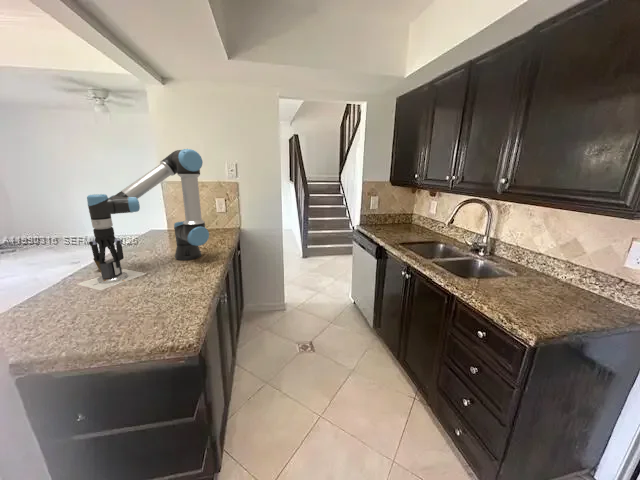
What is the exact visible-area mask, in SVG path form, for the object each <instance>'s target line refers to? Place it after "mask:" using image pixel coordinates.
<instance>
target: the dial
mask: <svg viewBox="0 0 640 480" xmlns="http://www.w3.org/2000/svg"><path fill="white" fill-rule="evenodd" d="M113 262H114V259H113V257H112V258H110V259H108V260H107V259H106V260H105V262H102V263H100V269H101V272H100V273H101V276H98V277H99V278H98V279H97V281H98V282H99V283H112V282H117V281H120V280H123V279H125V278H127V277H128V274H127V273H126V272H122V265H121V263H120V265H121V266H120V267H119V269H120V273H119V274H118V275H115V270H114V265H113Z"/></svg>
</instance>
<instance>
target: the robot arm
mask: <svg viewBox="0 0 640 480" xmlns="http://www.w3.org/2000/svg"><path fill="white" fill-rule="evenodd" d="M202 167H203V159H202V156H201V155H200V154H199V152H198V151H196V150H194V149H192V148H191V149H190V148H189V149H188V148H183V149H177V150H176V149H175V150H174V151H172V152H171V153H170V154H169V155H167V156H166V157H165V158H163V159H162V160H160V161H159V164H158V165H157V166H155V167H154V168H152V169H151V170H149V171H148V172H146V173H145V174H144V175H142V176H141V177H139V178H138V179H136V180H135V181H133V182H132V183H130V184H129V185H128V186H126V187H125V188H124V189H122V190H120V191H119V192H118V193H116V194H115V195H111V196H109V197H108V195H107V194H105V193H103V194H102V193H100V194H98V193H97V194H95V193H94V194H88V195H87V196H86V199H87V200H86V201H87V207H88V212H89V216H90V220H91V225H92V228H93V229H92V232H93V236H94V237H95V238H94V240H91V241H89V242H88V244H89V245H90V247H91V251H92V255H93V258H94V259H93V261H94V260H95V261H98V262H100V263H102V262H105V261H106V249H108V250H109V253H110V254H111V257H112V258H113V259H114V262H113V265H114V270H115V275H118V274H119V273H120V269H119V267H120V266H121V267H122V265H120V264H121V261H122V260H124V251H123V240H122V239H117V238H116V237H115V236H116V235H115V229H114V227H113V224H114V223H113V220H112V215H116V214H128V213H130V214H132V213H137V212H139V211H140V209H141V208H140V201H139V199H140V198H141V197H143V196H144V195H145V194H146V193H148V192H150V191H151V190H152V189H154V188H155V187H156V186H157V185H159V184H160V183H162V182H163V181H165V180H166V179H167V178H169V177H171V176H175V175H176V174H177V176H179V177H180V182H181V193H182V200H183V207H184V208H183V211H184V217H185V220H184V221H177V222H174V224H173V228H174V235H175V237H174V238H175V243H176V250H175V253H174V259H175V260H176V261H177V260H178V261H189V260H194V259H198V258H200V257H202V251H201V249H200V247H201V246H203V245H204V244H206V243H207V242H208V241H209V238H210V232H209V230H208V229H207V227H206V223H205V222H206V221H204V219H202V210H201V198H200V190H199V189H200V188H199V187H200V186H199V179H198V178H199V177H200V175H201V168H202ZM199 246H200V247H199ZM95 261H94V262H95Z"/></svg>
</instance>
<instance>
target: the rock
mask: <svg viewBox="0 0 640 480" xmlns="http://www.w3.org/2000/svg"><path fill="white" fill-rule="evenodd" d="M92 259H93V261H94V262H95V263H94V264H95V265H96V266H97V268H98V270H99V272H100V273H101V269H100V262H98V261H95V260H94V257H93V258H92Z"/></svg>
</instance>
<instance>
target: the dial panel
mask: <svg viewBox="0 0 640 480" xmlns="http://www.w3.org/2000/svg"><path fill="white" fill-rule="evenodd" d="M121 270H122V272H126V273H127V274H128V277H127V278H125V279H123V280H120V281H117V282H112V283H99V282H98V281H97V279H98V278H99V277H100V276H97V277H94V278H92V279H88V280H84V281H81V282H77V283H76V285H78V286H82V287H85V288H90V289H93V290H97V291H102V290H105V289H108V288H110V287H115V286H116V285H119V284H122V283H125V282H128V281H131V280H133V279H136V278H139V277H141V276H144V275H147V273H146V272H140V271H135V270H131V269H125V268H123V269H122V268H121Z"/></svg>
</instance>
